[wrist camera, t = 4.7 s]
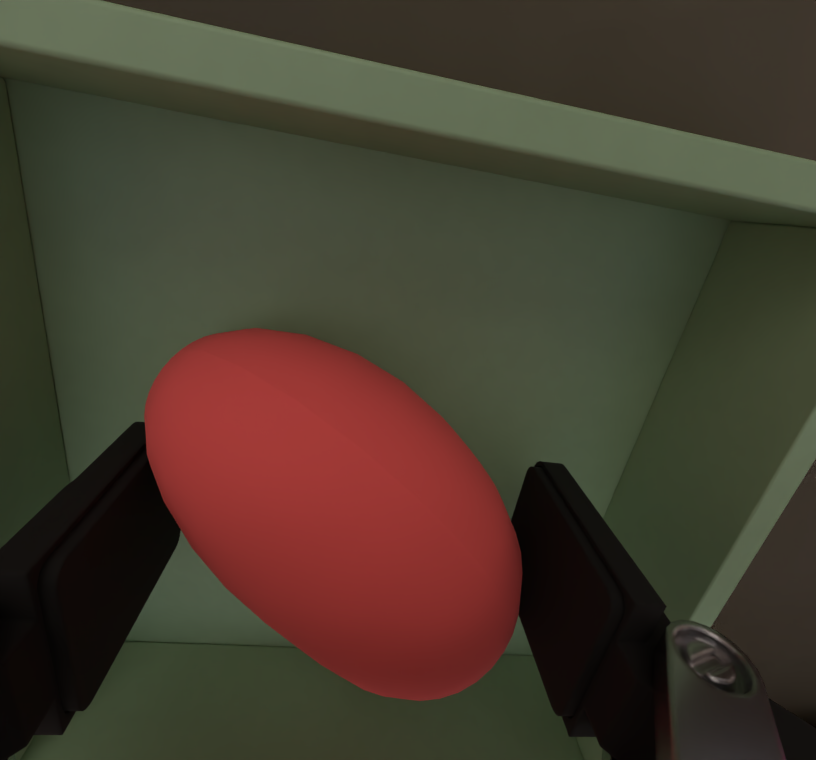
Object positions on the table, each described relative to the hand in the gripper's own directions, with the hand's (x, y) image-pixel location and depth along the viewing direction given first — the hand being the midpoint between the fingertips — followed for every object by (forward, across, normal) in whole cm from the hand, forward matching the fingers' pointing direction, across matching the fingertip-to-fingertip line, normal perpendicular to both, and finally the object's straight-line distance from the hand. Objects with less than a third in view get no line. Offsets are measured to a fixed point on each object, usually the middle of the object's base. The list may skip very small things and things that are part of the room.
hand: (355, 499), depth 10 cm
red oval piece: (+1, 0, 0) cm, 1 cm away
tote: (+2, 0, 0) cm, 2 cm away
